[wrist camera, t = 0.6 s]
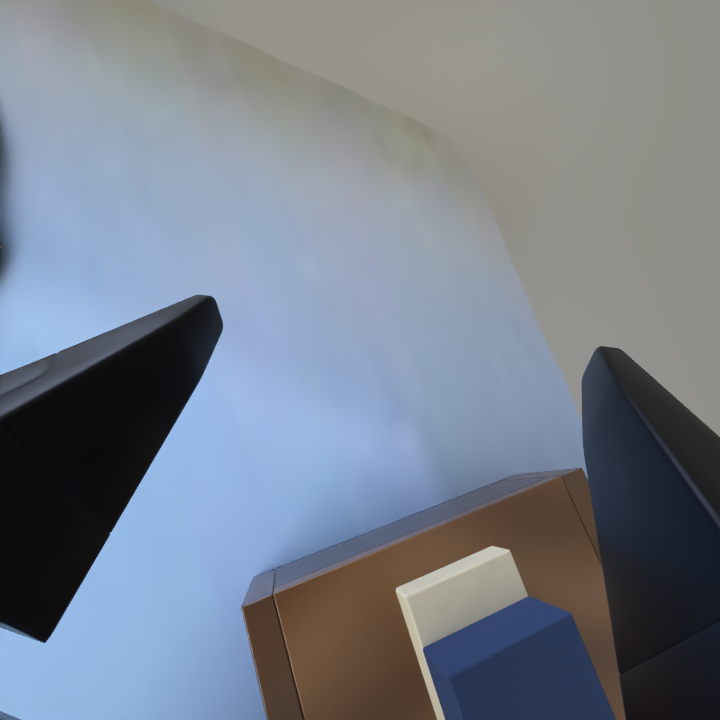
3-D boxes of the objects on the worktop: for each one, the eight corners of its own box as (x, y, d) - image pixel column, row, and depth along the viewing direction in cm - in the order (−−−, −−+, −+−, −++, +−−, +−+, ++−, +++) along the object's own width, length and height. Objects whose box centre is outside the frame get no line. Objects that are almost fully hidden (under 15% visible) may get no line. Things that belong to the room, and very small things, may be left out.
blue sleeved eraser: (590, 794, 15) (690, 892, 11) (483, 865, 14) (556, 1001, 10) (492, 544, 17) (548, 557, 14) (394, 587, 16) (426, 614, 12)
